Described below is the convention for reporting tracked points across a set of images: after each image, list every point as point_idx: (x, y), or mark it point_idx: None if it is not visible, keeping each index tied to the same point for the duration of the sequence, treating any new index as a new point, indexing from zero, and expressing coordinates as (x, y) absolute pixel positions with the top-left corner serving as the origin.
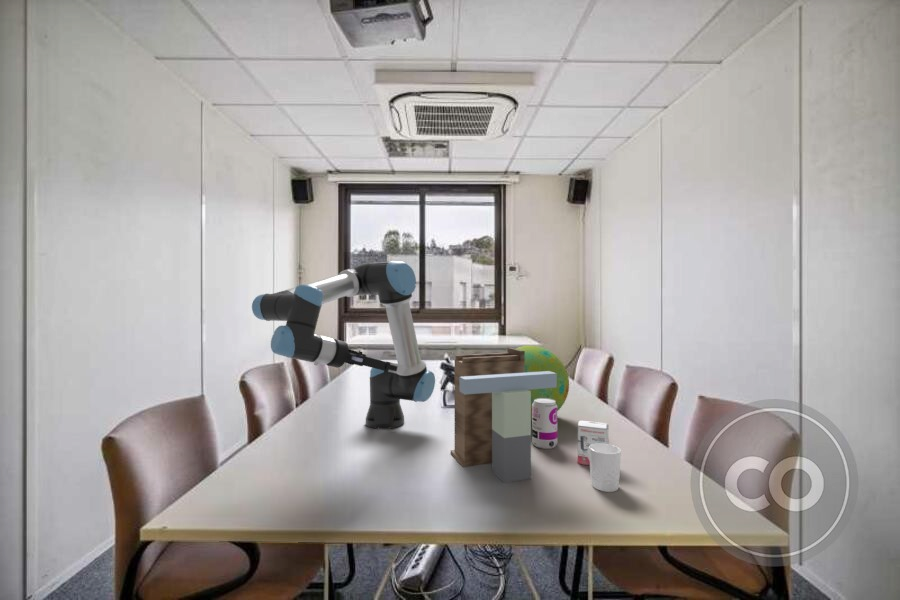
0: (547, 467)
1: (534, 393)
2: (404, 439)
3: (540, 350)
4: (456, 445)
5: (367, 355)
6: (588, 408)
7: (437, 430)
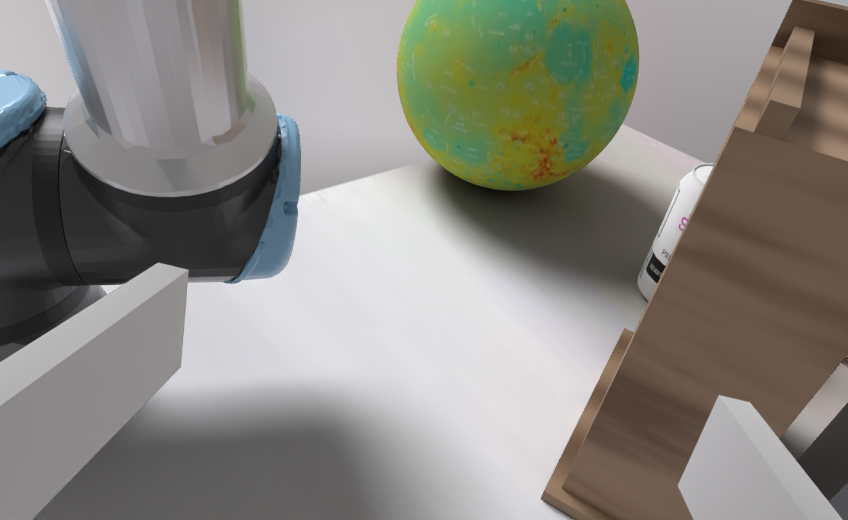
0: (827, 420)
1: (598, 129)
2: (257, 482)
3: None
4: (594, 483)
5: (27, 387)
6: None
7: (318, 338)
